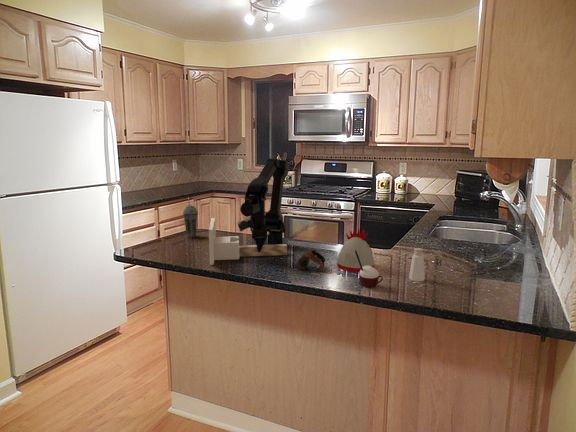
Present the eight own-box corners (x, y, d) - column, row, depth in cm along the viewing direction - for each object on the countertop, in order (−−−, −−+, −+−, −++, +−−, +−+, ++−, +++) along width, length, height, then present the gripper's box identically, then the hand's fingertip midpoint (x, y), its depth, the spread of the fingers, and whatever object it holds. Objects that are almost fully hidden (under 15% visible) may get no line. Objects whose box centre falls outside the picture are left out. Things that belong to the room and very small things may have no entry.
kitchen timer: (371, 273, 152) (373, 233, 150) (334, 270, 156) (335, 231, 154) (375, 263, 166) (376, 226, 163) (340, 260, 169) (341, 223, 167)
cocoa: (382, 285, 141) (386, 251, 139) (379, 291, 136) (383, 255, 134) (354, 280, 145) (357, 247, 143) (350, 285, 139) (353, 250, 137)
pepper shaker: (418, 282, 143) (420, 251, 141) (405, 278, 147) (407, 248, 145) (428, 279, 146) (430, 249, 144) (415, 275, 150) (416, 245, 148)
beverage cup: (201, 235, 211) (200, 196, 208) (192, 238, 205) (191, 198, 201) (190, 234, 214) (188, 195, 211) (180, 237, 208) (179, 197, 204)
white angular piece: (238, 248, 187) (238, 217, 185) (239, 263, 164) (239, 228, 161) (212, 248, 186) (211, 217, 183) (209, 264, 162) (208, 229, 160)
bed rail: (285, 252, 181) (285, 240, 180) (287, 256, 175) (287, 244, 174) (232, 253, 178) (232, 242, 178) (232, 258, 172) (232, 246, 171)
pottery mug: (303, 265, 164) (314, 248, 162) (320, 280, 159) (332, 262, 158) (286, 264, 154) (298, 246, 153) (304, 280, 150) (316, 262, 148)
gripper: (238, 209, 181) (238, 244, 184) (238, 217, 163) (239, 255, 166) (263, 208, 183) (264, 243, 186) (267, 216, 165) (267, 254, 168)
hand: (258, 249), depth 176 cm, fingers open, 9 cm apart
